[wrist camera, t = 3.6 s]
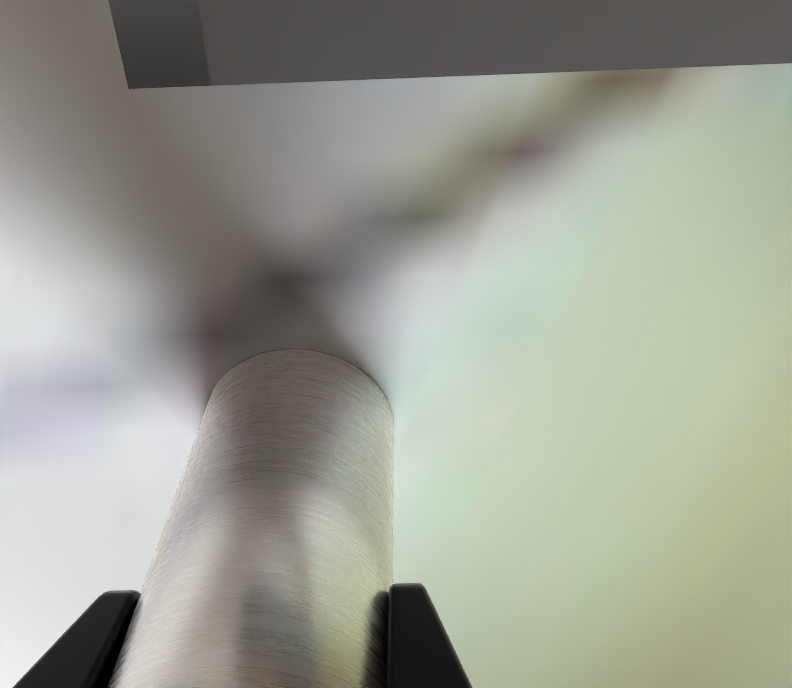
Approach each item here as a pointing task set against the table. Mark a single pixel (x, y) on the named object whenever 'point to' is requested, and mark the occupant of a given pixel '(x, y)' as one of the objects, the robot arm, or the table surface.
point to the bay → (436, 38)
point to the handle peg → (274, 537)
